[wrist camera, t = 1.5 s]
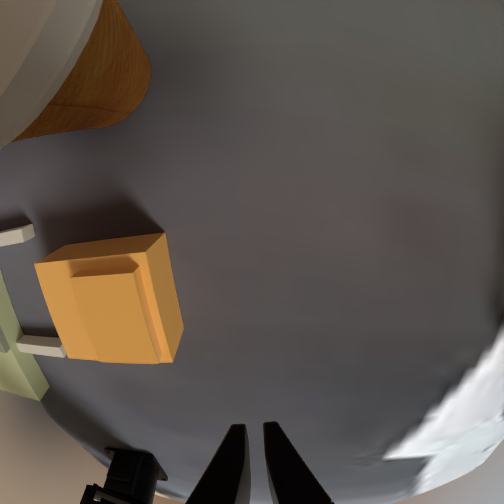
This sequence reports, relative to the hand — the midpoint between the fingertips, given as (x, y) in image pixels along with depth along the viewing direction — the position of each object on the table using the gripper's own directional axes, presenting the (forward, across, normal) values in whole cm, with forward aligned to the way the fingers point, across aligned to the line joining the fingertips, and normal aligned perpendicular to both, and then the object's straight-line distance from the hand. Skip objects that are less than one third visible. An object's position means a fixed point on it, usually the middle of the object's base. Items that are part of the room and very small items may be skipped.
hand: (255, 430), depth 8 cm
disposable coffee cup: (+12, +8, -14) cm, 20 cm away
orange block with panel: (+12, +9, 0) cm, 15 cm away
